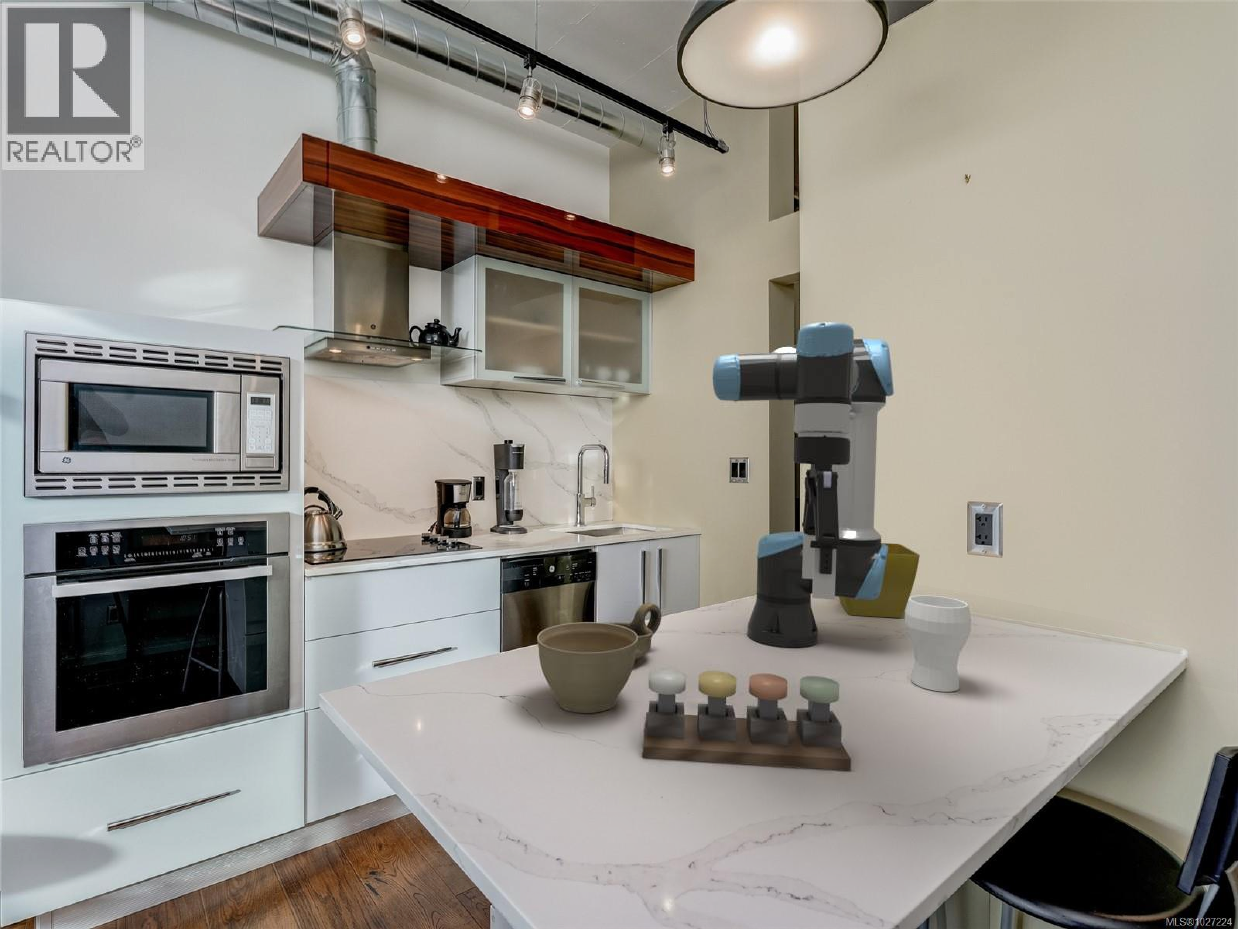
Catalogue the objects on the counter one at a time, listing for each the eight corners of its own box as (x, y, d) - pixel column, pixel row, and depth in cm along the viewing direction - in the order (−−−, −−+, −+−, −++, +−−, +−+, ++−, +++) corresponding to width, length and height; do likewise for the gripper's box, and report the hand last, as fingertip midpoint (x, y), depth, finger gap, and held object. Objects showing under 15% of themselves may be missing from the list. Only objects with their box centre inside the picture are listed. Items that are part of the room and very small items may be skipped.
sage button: (803, 727, 86) (804, 688, 86) (795, 712, 91) (796, 675, 91) (842, 730, 85) (843, 691, 85) (832, 714, 91) (834, 677, 90)
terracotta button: (750, 724, 86) (751, 686, 86) (746, 709, 92) (747, 672, 91) (789, 727, 86) (790, 688, 86) (782, 711, 91) (783, 674, 91)
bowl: (567, 655, 126) (569, 605, 125) (638, 641, 136) (639, 595, 136) (607, 676, 115) (608, 621, 114) (681, 660, 125) (682, 609, 124)
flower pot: (837, 618, 159) (839, 551, 158) (825, 600, 178) (827, 540, 177) (918, 623, 156) (921, 555, 155) (897, 604, 174) (899, 543, 174)
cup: (977, 698, 108) (980, 610, 108) (910, 692, 110) (913, 606, 110) (957, 676, 119) (960, 596, 118) (896, 671, 121) (899, 592, 120)
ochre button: (698, 721, 87) (699, 683, 87) (697, 706, 92) (698, 670, 92) (737, 724, 87) (738, 685, 86) (733, 708, 92) (734, 672, 92)
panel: (642, 757, 85) (643, 724, 85) (646, 722, 96) (646, 692, 96) (850, 770, 83) (851, 736, 82) (829, 733, 94) (830, 702, 93)
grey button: (647, 718, 88) (648, 680, 87) (648, 703, 93) (649, 667, 93) (685, 721, 87) (686, 682, 87) (684, 705, 92) (685, 669, 92)
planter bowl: (543, 682, 111) (545, 620, 111) (636, 685, 111) (638, 623, 110) (527, 722, 95) (529, 649, 95) (636, 726, 94) (637, 653, 94)
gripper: (868, 433, 76) (862, 610, 76) (836, 439, 100) (832, 573, 101) (803, 432, 77) (797, 606, 78) (787, 438, 102) (783, 570, 102)
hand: (817, 588), depth 89 cm, fingers open, 13 cm apart
